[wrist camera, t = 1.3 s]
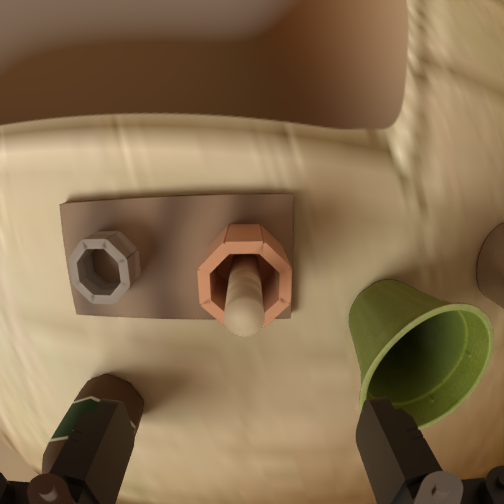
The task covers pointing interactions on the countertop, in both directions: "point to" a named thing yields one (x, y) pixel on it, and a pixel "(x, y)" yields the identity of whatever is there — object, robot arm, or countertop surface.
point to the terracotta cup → (270, 265)
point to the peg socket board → (158, 249)
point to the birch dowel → (244, 296)
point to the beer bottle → (88, 401)
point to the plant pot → (418, 349)
